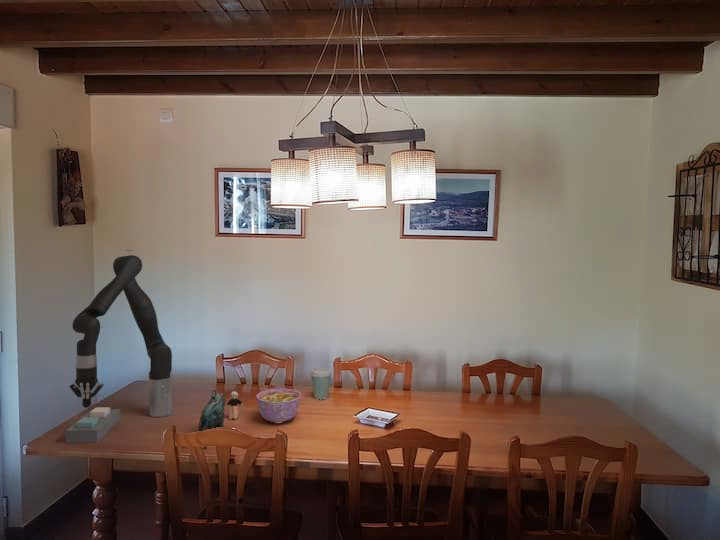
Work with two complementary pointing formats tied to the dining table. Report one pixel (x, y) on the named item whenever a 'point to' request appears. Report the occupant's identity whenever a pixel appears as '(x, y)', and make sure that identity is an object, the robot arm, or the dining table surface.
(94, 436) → the key box
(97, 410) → the cream key
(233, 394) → the grandmother figurine
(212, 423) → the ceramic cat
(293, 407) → the bowl of food
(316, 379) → the disposable coffee cup
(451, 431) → the dining table surface
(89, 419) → the teal key
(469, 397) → the dining table surface
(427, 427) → the dining table surface
